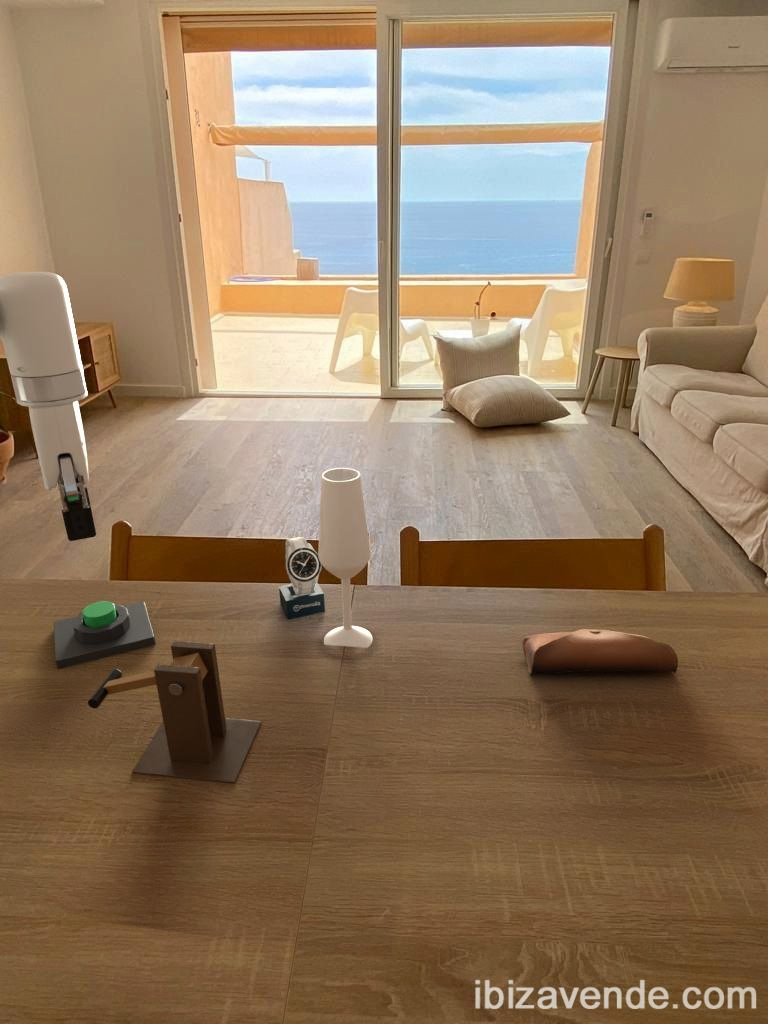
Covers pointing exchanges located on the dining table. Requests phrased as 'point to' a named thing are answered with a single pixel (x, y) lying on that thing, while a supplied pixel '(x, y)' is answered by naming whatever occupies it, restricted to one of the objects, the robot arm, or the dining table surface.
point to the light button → (99, 614)
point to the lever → (139, 679)
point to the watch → (301, 580)
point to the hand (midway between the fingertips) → (80, 526)
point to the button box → (102, 636)
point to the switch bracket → (195, 724)
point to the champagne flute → (344, 545)
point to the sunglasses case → (596, 652)
